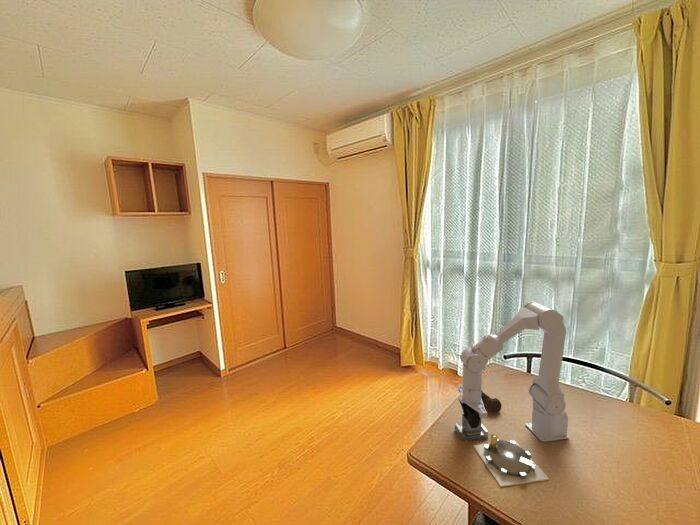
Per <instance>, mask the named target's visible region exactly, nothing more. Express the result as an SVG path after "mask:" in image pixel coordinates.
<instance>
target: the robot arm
mask: <svg viewBox="0 0 700 525" xmlns="http://www.w3.org/2000/svg"><path fill="white" fill-rule="evenodd" d="M540 329H541V330H542V332H543V341H542V347H541V352H540V353H541V354H540V362H539V368H538V369H539V371H538V376H536V377H533V378H532V382H531V384H530V385H529V388H528V394H529V396H531V399H532V400H531V401H532V412H531V413H532V414H531V422H529V423H528V422H527V423H525V424H524V425H525V426H526V427H527V428H528V429H529V430H530V432H532V434H534V436H536V438H537V439H539V440H540V442H542V443H545V442H553V441H560V440H561V441H562V440H567V439H569V438H570V437H569V435H568V426H569V425H568V423H569V416H568V414H567V412H566V410H565V409H566V407H567V403H566V401H565V393H564V391H563V389H562V387H561V385H560V377H561V376H560V375H561V370H562V363H563V356H564V349H565V342H566V336H567V328H566V326H565V324H564V315H562V314H561V313H560V312H558V311H557V310H555V309H552V308H550V307H548V306H545V305H543V304H541V303H540V302H538V301H533V300H531V301H529V302H527V303H526V304H524V306H522V307H520V308H519V309H518V311H517V313H516V315H515V316H514V317H513V318H512V319H510V320H509V321H508V322H507V323H506V324H505V325H504V326H502V328H501V329H500V330H498V331H497V332H496V333H494V334H491V333H490V334H488V335H483V337H482V339H481V340H480V341H478V342H477V343H476V344H474V345H472V346H471V347H468V348H465V349H464V350H462V352H461V354H460V355H459V358H460V359H459V360H460V361H461V362H462V385H458V386H457V389H458V393H460V396H459V397H458V401H459V403H460V405H461V406H460V407H461V408H462V414H468V415H469V420H470V426H471V428H477V427H478V425H479V422H480V420H481V421H482V419H487V418H488V412H487V410H486V409H485V404H484V403H483V402H482V399H481V390H482V389H483V388H482V385H483V384H482V383H483V382H482V381H483V371H484V370H485V369H486V366H487V363H489V360H491V359H492V358H493V357H495V356H496V355H497V354H498V353H500V352H501V351H502V350H504V344H505V343H506V342H507V341H509V340H511V339H512V338H514V337H515V336H517V335H519V334H520V333H521V332H523V331H524V330H536V331H540ZM482 391H483V390H482Z"/></svg>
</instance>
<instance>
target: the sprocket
mask: <svg viewBox="0 0 700 525" xmlns="http://www.w3.org/2000/svg"><path fill="white" fill-rule="evenodd" d="M498 437H499V436H498V435H497V434H495V433H492V434H491V435H490V444H489V445H487V444H488V443H484V444H485V446H484V450H485V451H487V452H488V456H486V461H487V462H488V464H491V463H492V464H493V465H494V466H495V467H496V468H497V469H498V470H500V471H501V474H503V475H505V476H506V475H507V474H508V475H511V476H518V477H520V478H521V479H526V477H527V474H528V473H529V472H530V471H532V472H535V465H534V464H532V461H531V460H530V458H531V459H532V454H531V452H530V451H529V450H524V449H523V447H522V446H520V447H519V446H518V445H516V442H517V441H516V442H513V441H511V440H502V439H500V440H499V438H498ZM508 441H510V442H508Z"/></svg>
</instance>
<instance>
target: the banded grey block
mask: <svg viewBox="0 0 700 525" xmlns="http://www.w3.org/2000/svg"><path fill="white" fill-rule="evenodd" d="M461 415H462V417H461V418H462V420H461V422H462V424H461V426H462V428H463V429H464V431H465V432H466V434H472V433H479V432H481V423H482V419H481V420H480V422H479V425H478V427H477V428H471V426H470V420H469V415H468V414H464V413H462V414H461Z"/></svg>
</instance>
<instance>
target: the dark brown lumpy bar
mask: <svg viewBox="0 0 700 525" xmlns="http://www.w3.org/2000/svg"><path fill="white" fill-rule="evenodd" d="M481 399H482V402H483V405H484V406H486V408H487V410H488V412H489V413H490V414H492V415H493V414H494V415H495V414H498V413H500V411H501V410H502V405H503V404H502V403H501V401H500V400H499V399H498V398H497V397H495V398H491V397H490V396H489V395H487V394H486V393H485V392H483V390H481Z"/></svg>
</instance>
